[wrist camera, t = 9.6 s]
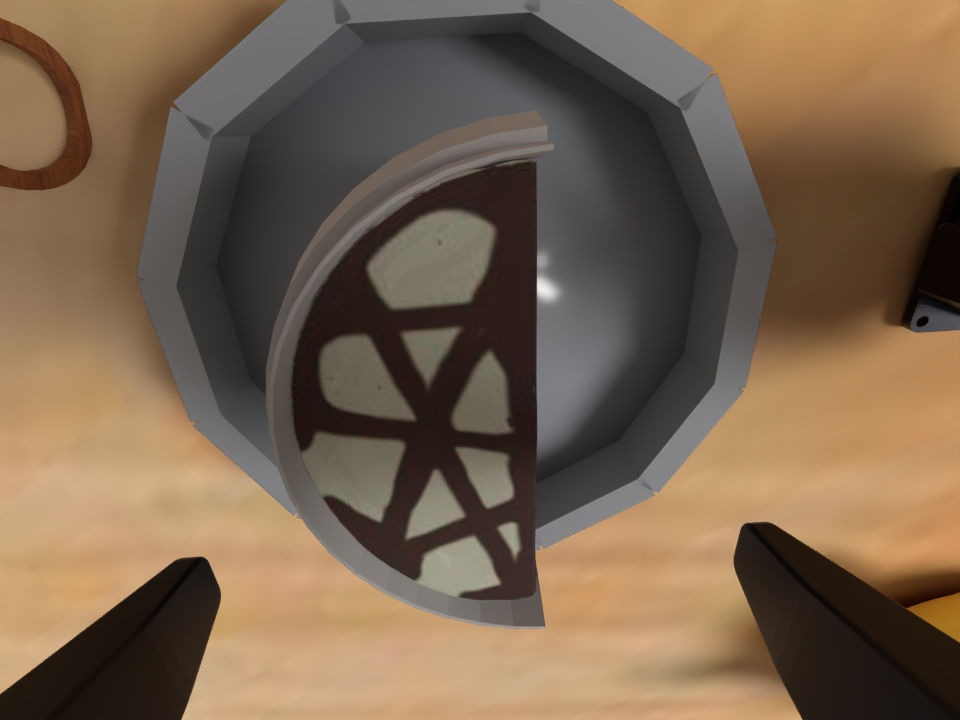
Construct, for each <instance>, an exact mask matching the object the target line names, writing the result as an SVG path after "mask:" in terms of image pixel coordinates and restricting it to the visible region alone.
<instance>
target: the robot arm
mask: <svg viewBox="0 0 960 720" xmlns="http://www.w3.org/2000/svg"><path fill="white" fill-rule="evenodd" d="M920 317H921V318H920ZM919 318H920V319H919ZM918 319H919V321H918V322H917V320H918ZM902 324H903V326H904V327H905V328H906V329H909V330H911V331H913V332H918V333H919V332H935V331H951V330H960V172H958V174H957V175H956V176H955V177H954V178H953V180H952V182H951V185H950V188H949V190H948V193H947V196H946V199H945V202H944V204H943V207H942V210H941V213H940V216H939V219H938V221H937V224H936V227H935V230H934V233H933V235H932V238H931V241H930V244H929V247H928V250H927V252H926V255H925V258H924V261H923V264H922V266H921V269H920V272H919V275H918V278H917V280H916V283H915V286H914V289H913V292H912V295H911V297H910V300H909V303H908V306H907V309H906V311H905V314H904V317H903V321H902ZM734 568H735V572H736V574H737V577H738V579H739V582H740V584H741V586H742V589H743V591H744V594H745V596H746V598H747V601H748V603H749V606H750V608H751V611H752V613H753V615H754V618H755V620H756V623H757V625H758V627H759V630H760V632H761V635H762V637H763V640H764V642H765V644H766V647H767V649H768V652H769V654H770V656H771V658H772V661H773V663H774V665H775V667H776V669H777V671H778V673H779V675H780V677H781V679H782V681H783V683H784V685H785V687H786V689H787V691H788V693H789V695H790V697H791V699H792V701H793V702H794V704H795V706H796V708H797V710H798V712H799V714H800V716H801V718H802V719H803V720H960V642H958V641H957V640H955V639H954V638H952V637H950V636H949V635H947V634H946V633H944V632H943V631H941V630H939V629H938V628H936V627H935V626H933V625H932V624H930V623H928V622H927V621H925V620H924V619H922V618H921V617H919V616H917V615H916V614H914V613H913V612H911V611H910V610H908V609H906V608H905V607H903V606H902V605H900V604H898V603H897V602H895V601H894V600H892V599H891V598H889V597H887V596H886V595H884V594H883V593H881V592H880V591H878V590H876V589H875V588H873V587H872V586H870V585H869V584H867V583H865V582H864V581H862V580H861V579H859V578H858V577H856V576H854V575H853V574H851V573H850V572H848V571H847V570H845V569H843V568H842V567H840V566H839V565H837V564H836V563H834V562H832V561H831V560H829V559H828V558H826V557H825V556H823V555H821V554H820V553H818V552H817V551H815V550H814V549H812V548H810V547H809V546H807V545H806V544H804V543H803V542H801V541H799V540H798V539H796V538H795V537H793V536H792V535H790V534H788V533H787V532H785V531H784V530H782V529H781V528H779V527H777V526H776V525H774V524H772V523H769V522H754V523H746V524H744V525H743V526H742V527H741V530H740V534H739V538H738V542H737V546H736V550H735V554H734ZM220 600H221V592H220V587H219V585H218V583H217V580H216V578H215V576H214V573H213V571H212V569H211V566H210V564H209V562H208V560H207V559H205V558H204V557H187V558H180V559H177V560H175V561H174V562H172V563H171V564H170V565H168V566H167V567H166V568H165V569H163V570H162V571H161V572H159V573H158V574H157V575H155V576H154V577H153V578H151V579H150V580H149V581H148V582H146V583H145V584H144V585H142V586H141V587H140V588H138V589H137V590H136V591H135V592H133V593H132V594H131V595H129V596H128V597H127V598H125V599H124V600H123V601H121V602H120V603H119V604H118V605H116V606H115V607H114V608H112V609H111V610H110V611H108V612H107V613H106V614H104V615H103V616H102V617H101V618H99V619H98V620H97V621H95V622H94V623H93V624H91V625H90V626H89V627H87V628H86V629H85V630H84V631H82V632H81V633H80V634H78V635H77V636H76V637H74V638H73V639H72V640H70V641H69V642H68V643H67V644H65V645H64V646H63V647H61V648H60V649H59V650H57V651H56V652H55V653H53V654H52V655H51V656H50V657H48V658H47V659H46V660H44V661H43V662H42V663H40V664H39V665H38V666H37V667H35V668H34V669H33V670H31V671H30V672H29V673H27V674H26V675H25V676H23V677H22V678H21V679H20V680H18V681H17V682H16V683H14V684H13V685H12V686H10V687H9V688H8V689H6V690H5V691H4V692H3V693H1V694H0V720H181V719H182V716H183V714H184V711H185V709H186V706H187V704H188V701H189V698H190V695H191V692H192V690H193V687H194V684H195V680H196V677H197V674H198V671H199V668H200V665H201V662H202V659H203V655H204V652H205V649H206V646H207V643H208V640H209V637H210V634H211V630H212V627H213V624H214V621H215V618H216V615H217V612H218V609H219V605H220Z"/></svg>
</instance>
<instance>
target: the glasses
mask: <svg viewBox="0 0 960 720" xmlns="http://www.w3.org/2000/svg"><path fill="white" fill-rule="evenodd" d="M0 40H2V41H4V42H7V43H9V44H12V45H14V46H16V47H17V48H19V49H21V50H23V51H24V52H26V53H28V54H29V55H30V56H31V57H32V58H34V59H35V60H36V61H37V62H38V63H39V64H40V65H41V66H42V67H43V68H44V70H45V71H46V72H47V73H48V74H49V76H50V78H51V79H52V81H53V82H54V84H55V86H56V87H57V90H58V92H59V94H60V96H61V98H62V101H63V104H64V108H65V111H66V116H67V122H68V138H67V144H66V147H65V149H64V151H63V154H62V155H61V156H60V157H59V158H58V160H57V161H55V162H54V163H52V164H51V165H49V166H47V167H44V168H41V169H39V170H31V171H18V170H13V169H10V168H7V167H5V166H2V165H0V186H4V187H10V188H16V189H23V190H45V189H51V188H56V187H59V186H61V185H64V184H66V183H69V182H70V181H71V180H73V179H74V178H76V177H77V176H78V175H79V174H80V173H81V172H82V170H83V169H84V168H85V167H86V164H87V162H88V159H89V157H90V153H91V147H92V137H91V133H90V128H89V124H88V120H87V115H86V111H85V107H84V102H83V98H82V94H81V89H80V85H79V83H78V81H77V79H76V77H75V76H74V74H73V72H72V71H71V69H70V67H69V66H68V64H67V63H66V62H65V61H64V59H63V58H62V57H61V56H60V54H59V53H58V52H57V51H56V50H55V49H54V48H53V47H51V46H50V45H49V44H48V43H47V42H46V41H45V40H43V39H42V38H40V37H38V36H37V35H35V34H33V33H31V32H30V31H28V30H26V29H24V28H23V27H21V26H18V25H16V24H13V23H11V22H9V21H6V20H4V19H1V18H0Z"/></svg>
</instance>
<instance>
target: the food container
mask: <svg viewBox="0 0 960 720" xmlns="http://www.w3.org/2000/svg"><path fill="white" fill-rule="evenodd" d="M552 150H554V144H553V143H551V142H548V141H547V125H546V123H545V122H544V120H543V119H542V118H541V116H540V115H539V114H538V112H537V111H530V112H523V113H517V114H510V115H504V116H497V117H491V118H486V119H483V120H480V121H477V122H474V123H471V124H468V125H465V126H462V127H458V128H455V129H452V130H449V131H446V132H443V133H440V134H437V135H435V136H433V137H432V138H430V139H428V140H426V141H424V142H422V143H420V144H418V145H417V146H415V147H413V148H411V149H409V150H407V151H405V152H403V153H402V154H400V155H398V156H396V157H394V158H392V159H391V160H390V161H388V162H387V163H386V164H385V165H383V166H382V167H381V168H379V169H378V170H377V171H376V172H374V173H373V174H372V175H370V176H369V177H368V178H367V179H365V180H364V181H363V182H361V183H360V184H359V185H358V186H356V187H355V188H354V189H353V190H352V191H351V192H350V193H349V194H348V195H347V196H346V198H345V199H344V200H343V201H342V202H341V203H340V204H339V205H338V206H337V208H336V209H335V210H334V211H333V212H332V213H331V214H330V215H329V217H328V218H327V219H326V220H325V221H324V222H323V223H322V225H321V226H320V228H319V229H318V231H317V233H316V234H315V236H314V237H313V239H312V241H311V242H310V244H309V246H308V247H307V249H306V250H305V252H304V254H303V255H302V257H301V259H300V260H299V262H298V265H297V267H296V270H295V272H294V275H293V277H292V280H291V283H290V285H289V288H288V290H287V293H286V295H285V298H284V301H283V303H282V306H281V309H280V311H279V314H278V317H277V320H276V322H275V325H274V328H273V334H272V339H271V344H270V349H269V355H268V360H267V365H266V410H267V415H268V421H269V432H270V437H271V442H272V447H273V452H274V457H275V462H276V466H277V468H278V471H279V473H280V476H281V478H282V481H283V483H284V486H285V488H286V491H287V493H288V496H289V498H290V500H291V501H292V503H293V505H294V506H295V508H296V509H297V511H298V513H299V514H300V516H301V518H302V519H303V521H304V523H305V524H306V526H307V527H308V528H309V530H310V531H311V532H312V533H313V534H314V535H315V537H316V538H317V539H318V540H319V541H320V542H321V544H322V545H323V546H324V547H325V548H326V549H327V550H328V552H329V553H330V554H331V555H333V556H334V557H335V558H336V559H337V560H338V561H340V562H341V563H342V564H343V565H344V566H345V567H347V568H348V569H349V570H350V571H351V572H352V573H354V574H355V575H356V576H358V577H359V578H361V579H362V580H364V581H365V582H367V583H369V584H370V585H372V586H373V587H375V588H376V589H378V590H379V591H381V592H383V593H384V594H386V595H388V596H391V597H393V598H395V599H397V600H399V601H401V602H403V603H405V604H408V605H410V606H412V607H414V608H417V609H420V610H423V611H426V612H429V613H432V614H435V615H438V616H441V617H444V618H447V619H452V620H456V621H461V622H466V623H471V624H475V625H481V626H492V627H502V628H513V629H545V620H544V614H543V607H542V600H541V593H540V587H539V580H538V573H537V567H536V560H535V531H536V466H537V160H536V159H538V158H540V157H542V156H543V155H545V154H547V153H549V152H550V151H552Z"/></svg>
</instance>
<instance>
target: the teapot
mask: <svg viewBox="0 0 960 720" xmlns="http://www.w3.org/2000/svg"><path fill="white" fill-rule="evenodd" d="M906 609H908V610H910V611H911V612H913V613H914V614H916V615H917V616H919V617H921V618H922V619H924V620H925V621H927V622H928V623H930V624H932V625H933V626H935V627H936V628H938V629H939V630H941V631H943V632H944V633H946V634H947V635H949V636H950V637H952V638H954V639H955V640H957V641H958V642H960V592H958V593H956V594H954V595H949V596H945V597H941V598H937V599H933V600H930V601H926V602H923V603H920V604H917V605H914V606H911V607H908V608H906Z"/></svg>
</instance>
